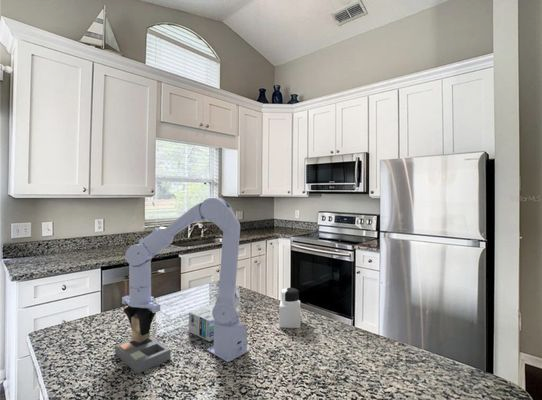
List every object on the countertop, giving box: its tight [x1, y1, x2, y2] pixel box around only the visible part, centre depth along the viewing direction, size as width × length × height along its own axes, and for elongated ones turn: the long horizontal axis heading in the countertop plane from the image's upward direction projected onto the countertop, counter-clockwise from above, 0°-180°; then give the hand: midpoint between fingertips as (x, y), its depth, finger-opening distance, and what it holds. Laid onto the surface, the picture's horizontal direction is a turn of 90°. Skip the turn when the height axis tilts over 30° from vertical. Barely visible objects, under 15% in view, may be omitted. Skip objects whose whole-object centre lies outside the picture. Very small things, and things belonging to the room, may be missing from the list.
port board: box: [114, 335, 172, 375], centre depth 81 cm, size 14×9×3 cm, turn 49°
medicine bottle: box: [278, 287, 301, 329], centre depth 102 cm, size 7×7×12 cm
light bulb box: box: [188, 303, 216, 342], centre depth 96 cm, size 11×7×11 cm
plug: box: [130, 314, 151, 342], centre depth 84 cm, size 3×3×7 cm
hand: (140, 332), depth 85 cm, fingers closed on plug, 3 cm apart
